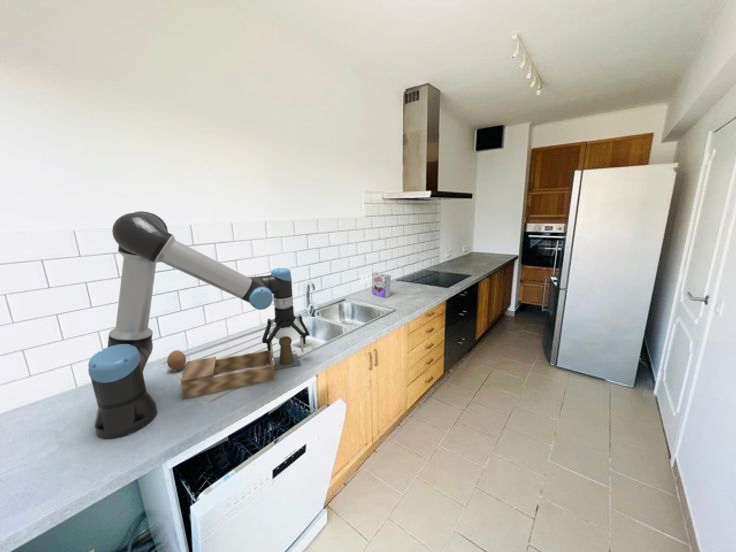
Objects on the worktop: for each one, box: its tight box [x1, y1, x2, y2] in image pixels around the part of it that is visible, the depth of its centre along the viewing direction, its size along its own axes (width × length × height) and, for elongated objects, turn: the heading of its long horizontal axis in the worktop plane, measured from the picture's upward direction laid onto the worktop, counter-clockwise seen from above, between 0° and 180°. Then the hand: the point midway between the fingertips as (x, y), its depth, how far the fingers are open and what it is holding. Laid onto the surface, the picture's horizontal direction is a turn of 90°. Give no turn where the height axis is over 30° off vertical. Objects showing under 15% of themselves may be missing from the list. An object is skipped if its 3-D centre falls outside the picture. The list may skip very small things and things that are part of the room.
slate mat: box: [273, 353, 302, 371], centre depth 128 cm, size 10×10×1 cm
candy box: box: [371, 271, 392, 299], centre depth 217 cm, size 14×6×16 cm, turn 43°
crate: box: [180, 349, 276, 399], centre depth 115 cm, size 31×14×7 cm, turn 113°
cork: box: [278, 335, 294, 365], centre depth 126 cm, size 6×6×11 cm
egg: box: [166, 349, 187, 371], centre depth 121 cm, size 6×6×8 cm
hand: (287, 353), depth 127 cm, fingers open, 12 cm apart
